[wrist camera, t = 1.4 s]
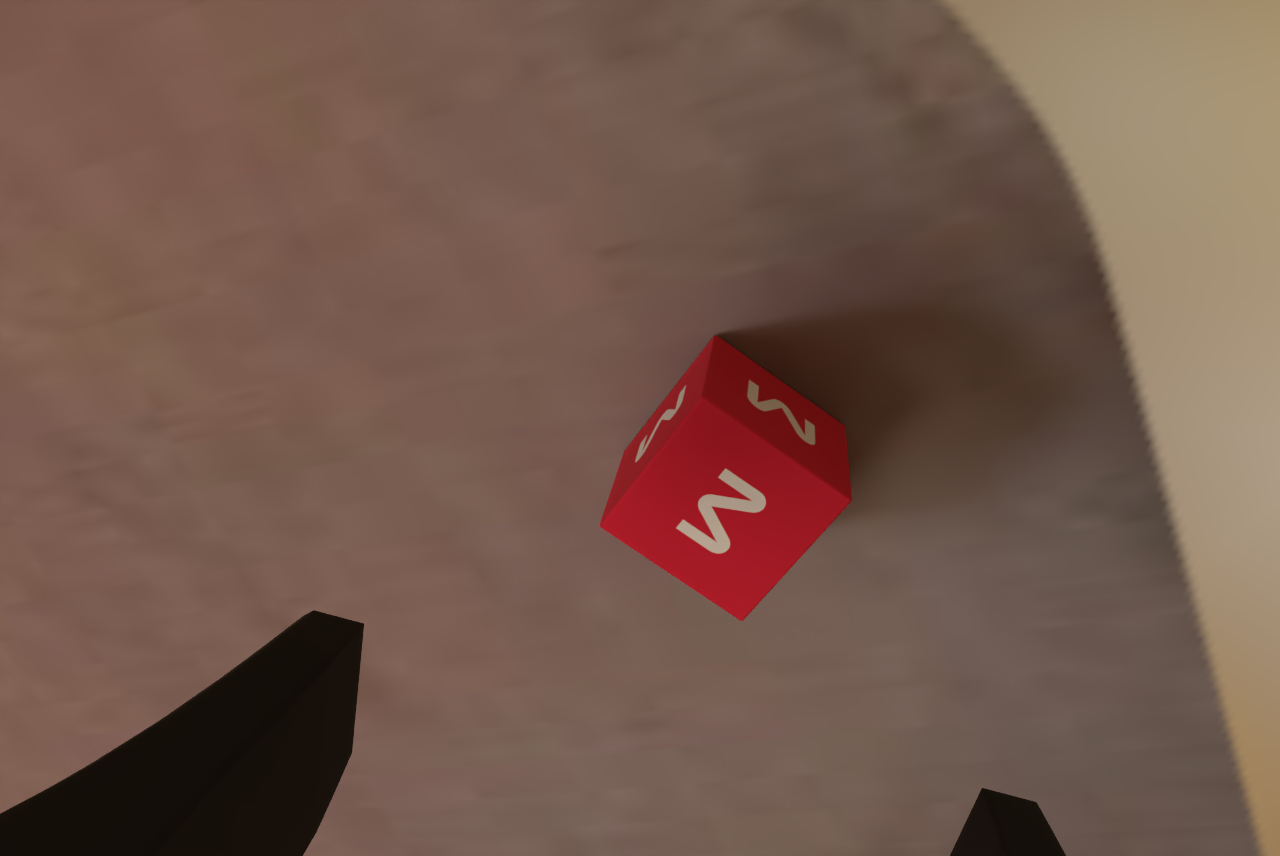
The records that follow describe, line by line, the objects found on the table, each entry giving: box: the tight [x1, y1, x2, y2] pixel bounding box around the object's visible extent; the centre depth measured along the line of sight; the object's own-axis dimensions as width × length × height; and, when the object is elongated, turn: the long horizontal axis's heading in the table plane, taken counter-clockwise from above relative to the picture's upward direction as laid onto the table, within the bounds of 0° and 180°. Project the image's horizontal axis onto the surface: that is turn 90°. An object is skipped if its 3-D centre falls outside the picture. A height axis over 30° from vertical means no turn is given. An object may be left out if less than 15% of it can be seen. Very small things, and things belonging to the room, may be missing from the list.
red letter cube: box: [600, 335, 852, 621], centre depth 20 cm, size 3×3×3 cm
